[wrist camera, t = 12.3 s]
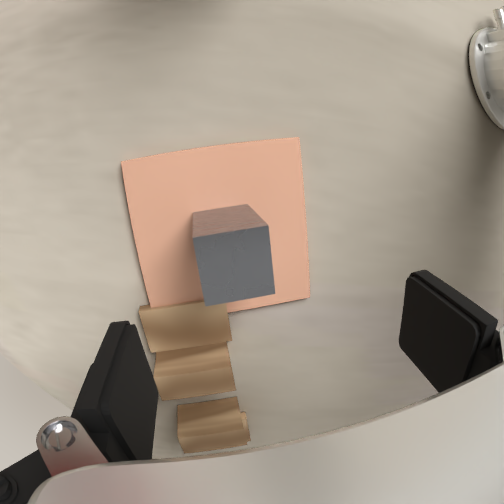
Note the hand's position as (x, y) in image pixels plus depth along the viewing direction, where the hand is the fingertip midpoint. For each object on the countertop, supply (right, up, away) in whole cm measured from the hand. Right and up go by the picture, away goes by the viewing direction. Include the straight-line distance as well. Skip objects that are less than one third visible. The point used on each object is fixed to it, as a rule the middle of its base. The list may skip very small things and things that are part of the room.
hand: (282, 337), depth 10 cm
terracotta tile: (-3, +4, +14) cm, 15 cm away
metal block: (-3, +4, +14) cm, 15 cm away
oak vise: (-6, -10, +18) cm, 21 cm away
